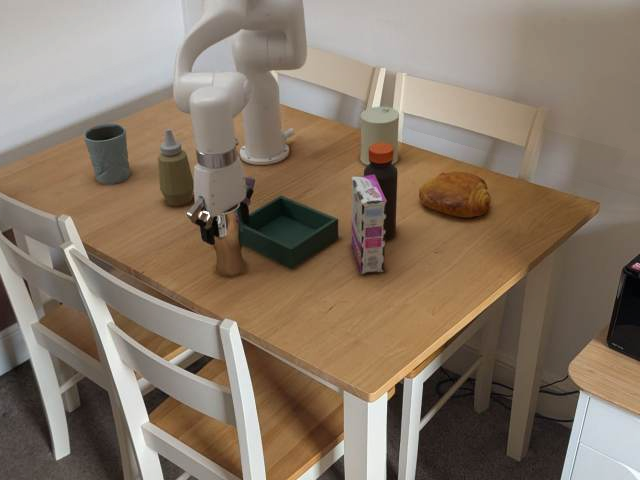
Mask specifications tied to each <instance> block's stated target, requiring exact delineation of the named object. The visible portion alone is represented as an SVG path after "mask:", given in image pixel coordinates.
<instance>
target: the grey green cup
mask: <svg viewBox="0 0 640 480" xmlns="http://www.w3.org/2000/svg"><path fill="white" fill-rule="evenodd" d="M83 139H84V142H85V145H86V148H87V152H88V153H89V159H90V162H91V165H92V167H93V169H92V170H93V172H94V177H95V179H96V181H97V182H98V183H99V184H102V185H116V184H119V183H122V182H125V181H126V180H127V179H128V178H129V177H130V175H131V171H130V163H129V160H128V159H129V151H128V143H127V130H126V127H125V126H124V125H121V124H118V123H102V124H97V125H94V126H91V127H90V128H88V129H86V130H85V131H84V132H83Z"/></svg>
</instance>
